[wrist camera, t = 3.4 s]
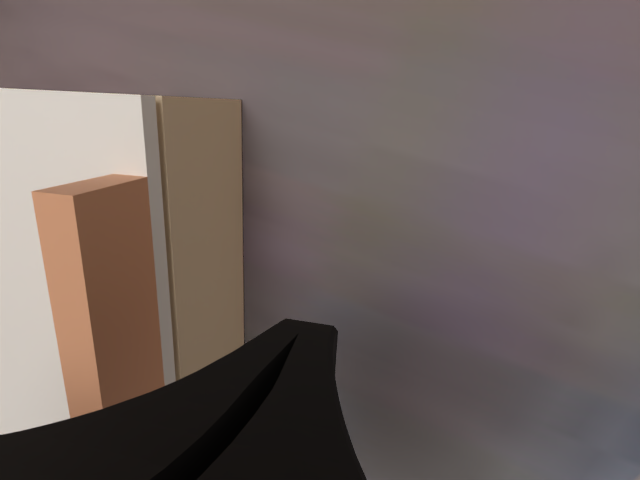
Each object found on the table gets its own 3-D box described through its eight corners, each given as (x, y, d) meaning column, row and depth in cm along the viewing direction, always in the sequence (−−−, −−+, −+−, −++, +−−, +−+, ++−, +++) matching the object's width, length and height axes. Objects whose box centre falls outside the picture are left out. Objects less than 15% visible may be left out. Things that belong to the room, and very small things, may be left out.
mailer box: (244, 368, 20) (186, 455, 15) (-1, 323, 22) (-119, 384, 17) (241, 99, 16) (161, 95, 11) (-53, 85, 19) (-222, 77, 14)
